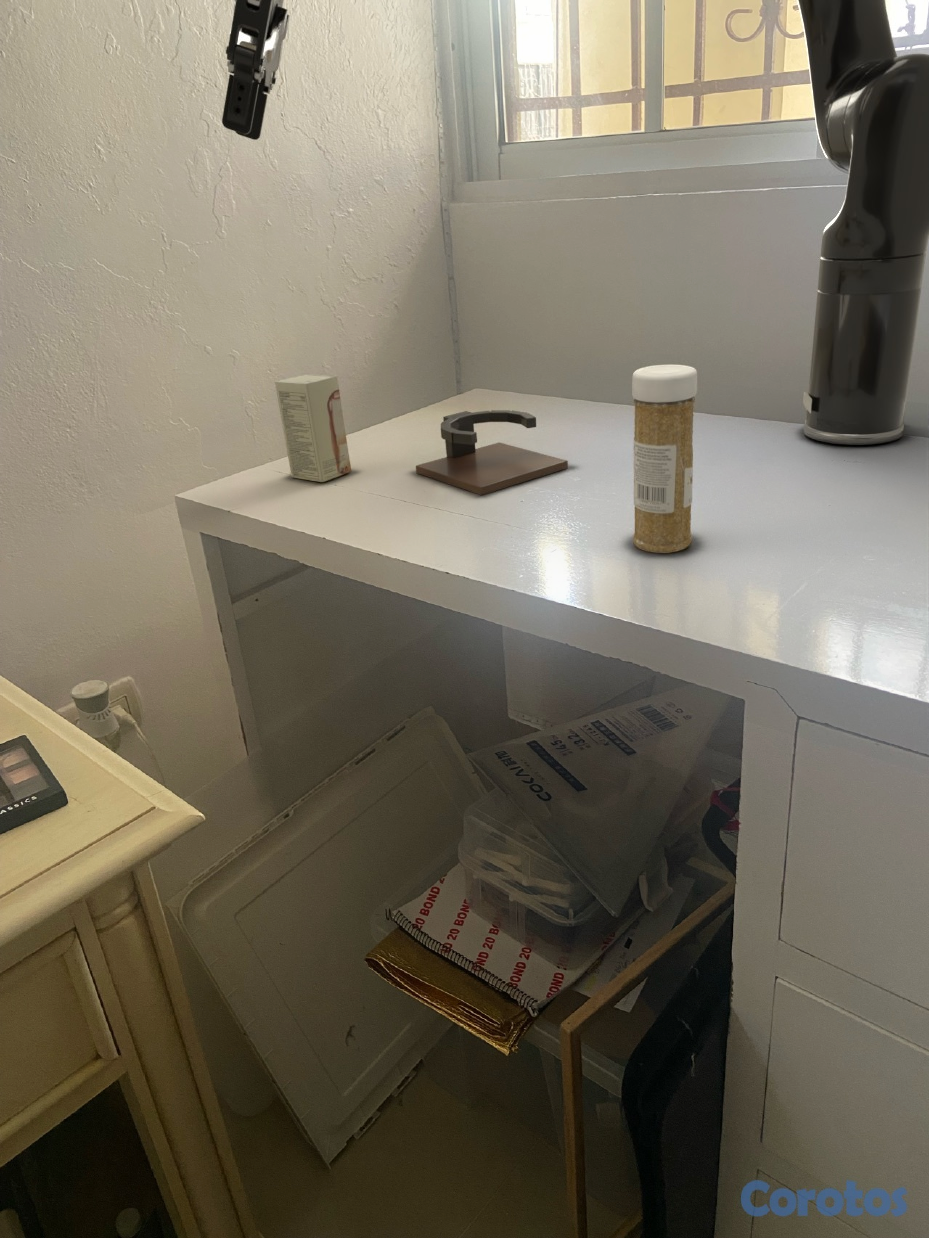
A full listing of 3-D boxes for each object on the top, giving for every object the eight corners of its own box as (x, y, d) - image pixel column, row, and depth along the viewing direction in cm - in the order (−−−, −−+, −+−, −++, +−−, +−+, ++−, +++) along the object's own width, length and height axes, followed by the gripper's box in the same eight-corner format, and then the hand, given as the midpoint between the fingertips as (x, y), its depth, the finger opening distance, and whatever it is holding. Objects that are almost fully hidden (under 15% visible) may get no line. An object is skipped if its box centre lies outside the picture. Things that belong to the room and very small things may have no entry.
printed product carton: (353, 472, 95) (340, 375, 90) (322, 484, 92) (307, 384, 87) (320, 466, 98) (305, 371, 94) (289, 477, 95) (272, 380, 91)
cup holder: (568, 468, 90) (566, 418, 88) (481, 495, 85) (477, 443, 83) (498, 449, 99) (496, 403, 96) (415, 472, 93) (410, 424, 91)
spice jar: (704, 544, 70) (711, 367, 64) (661, 560, 68) (664, 378, 62) (661, 529, 73) (664, 360, 67) (619, 544, 71) (618, 370, 65)
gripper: (327, -103, 64) (280, 145, 70) (331, -55, 76) (290, 152, 83) (219, -146, 62) (181, 113, 68) (241, -89, 75) (207, 125, 81)
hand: (241, 134), depth 75 cm, fingers open, 8 cm apart
